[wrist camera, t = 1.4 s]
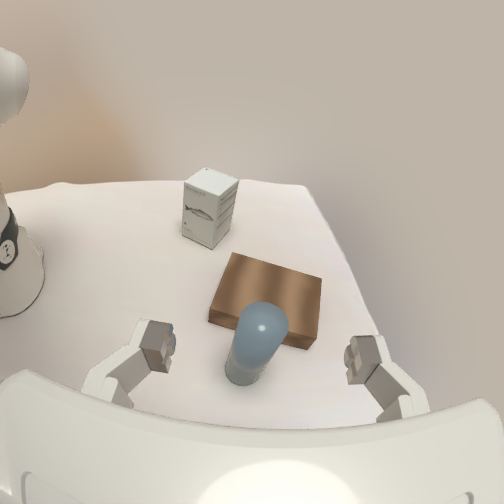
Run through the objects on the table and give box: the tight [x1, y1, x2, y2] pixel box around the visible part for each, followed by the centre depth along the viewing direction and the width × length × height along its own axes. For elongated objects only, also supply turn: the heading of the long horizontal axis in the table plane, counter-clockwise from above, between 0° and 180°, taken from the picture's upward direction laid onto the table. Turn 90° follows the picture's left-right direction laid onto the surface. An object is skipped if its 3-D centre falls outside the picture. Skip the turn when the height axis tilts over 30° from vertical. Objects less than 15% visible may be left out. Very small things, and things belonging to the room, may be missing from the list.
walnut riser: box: [208, 252, 322, 350], centre depth 43 cm, size 16×12×4 cm
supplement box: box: [182, 167, 239, 249], centre depth 50 cm, size 7×7×13 cm
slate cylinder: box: [225, 302, 289, 386], centre depth 31 cm, size 5×5×14 cm
